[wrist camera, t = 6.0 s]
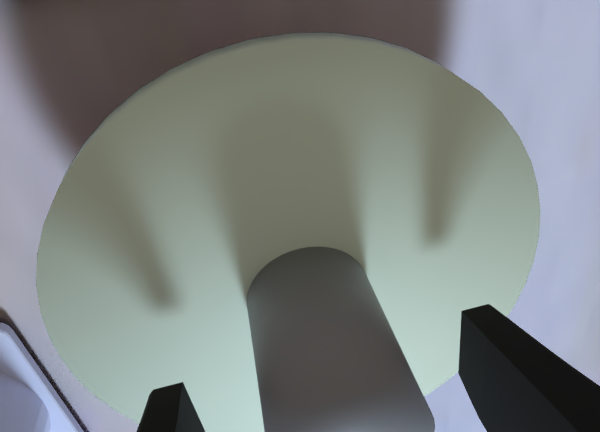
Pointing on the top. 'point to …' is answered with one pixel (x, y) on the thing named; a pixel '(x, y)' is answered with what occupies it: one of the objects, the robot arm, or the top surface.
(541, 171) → the top surface
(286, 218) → the lid
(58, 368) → the top surface
